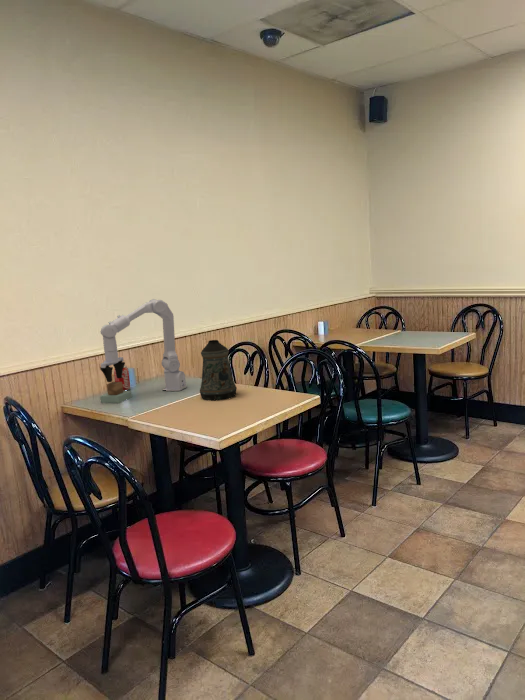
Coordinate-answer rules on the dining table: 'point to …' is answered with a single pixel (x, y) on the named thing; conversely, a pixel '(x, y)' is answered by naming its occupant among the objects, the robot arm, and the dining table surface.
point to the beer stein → (216, 373)
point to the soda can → (123, 378)
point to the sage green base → (115, 397)
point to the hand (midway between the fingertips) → (114, 379)
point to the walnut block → (114, 388)
